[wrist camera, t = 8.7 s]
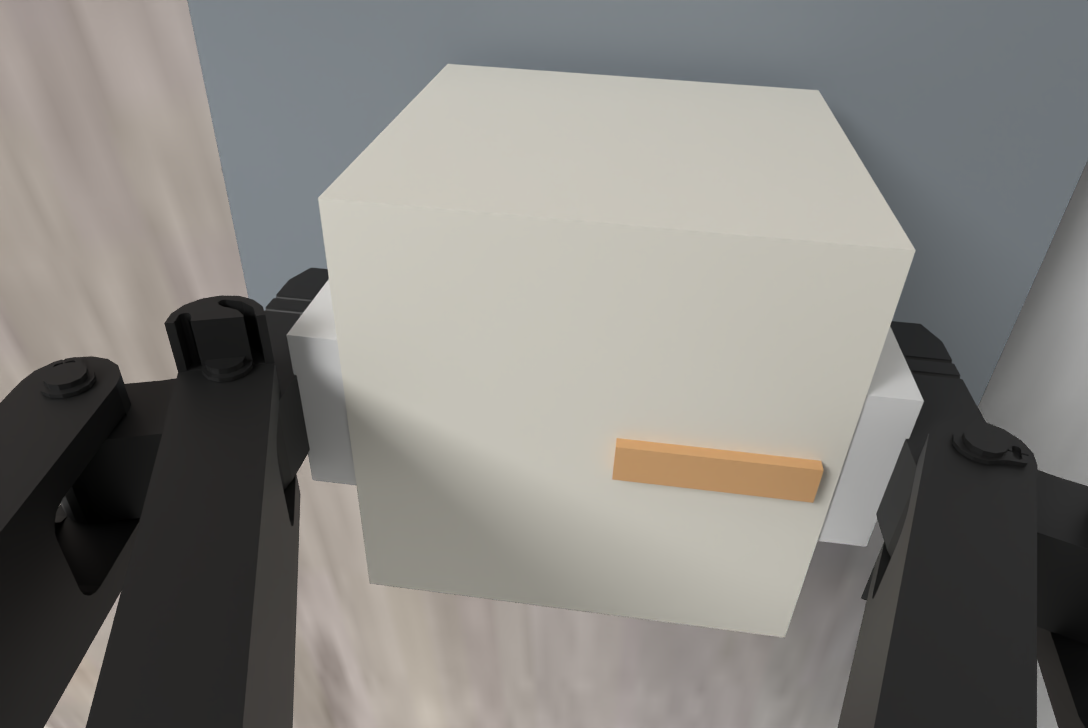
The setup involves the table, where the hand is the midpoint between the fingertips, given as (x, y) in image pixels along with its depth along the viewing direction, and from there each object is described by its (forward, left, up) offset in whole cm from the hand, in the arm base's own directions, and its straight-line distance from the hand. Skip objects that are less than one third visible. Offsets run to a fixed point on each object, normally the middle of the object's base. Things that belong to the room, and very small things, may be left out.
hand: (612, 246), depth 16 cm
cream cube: (0, 0, 0) cm, 0 cm away
